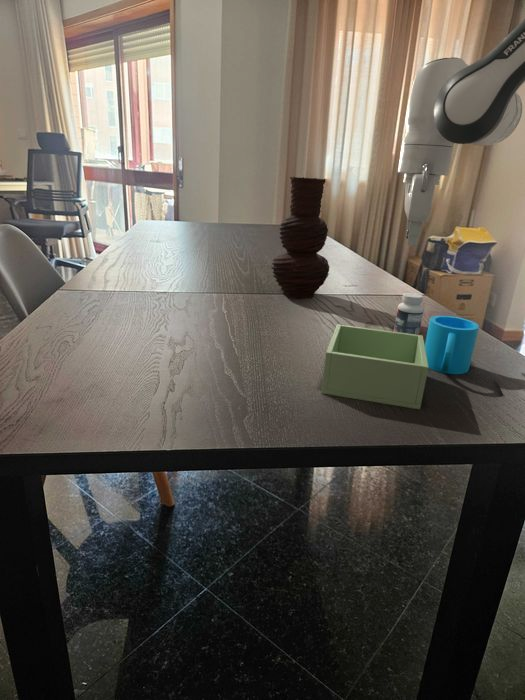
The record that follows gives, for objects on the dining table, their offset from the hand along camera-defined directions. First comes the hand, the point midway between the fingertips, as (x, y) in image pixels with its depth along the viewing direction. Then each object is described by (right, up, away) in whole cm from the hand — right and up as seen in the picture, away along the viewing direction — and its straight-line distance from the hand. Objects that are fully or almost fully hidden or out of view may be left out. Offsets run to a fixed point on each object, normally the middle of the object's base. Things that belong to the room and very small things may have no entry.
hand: (411, 242), depth 89 cm
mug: (+4, -24, -5) cm, 25 cm away
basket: (-10, -26, -13) cm, 31 cm away
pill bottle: (+2, -18, +11) cm, 21 cm away
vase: (-19, -6, +38) cm, 43 cm away
